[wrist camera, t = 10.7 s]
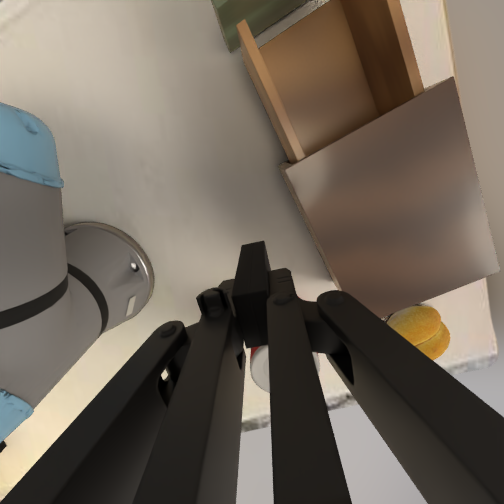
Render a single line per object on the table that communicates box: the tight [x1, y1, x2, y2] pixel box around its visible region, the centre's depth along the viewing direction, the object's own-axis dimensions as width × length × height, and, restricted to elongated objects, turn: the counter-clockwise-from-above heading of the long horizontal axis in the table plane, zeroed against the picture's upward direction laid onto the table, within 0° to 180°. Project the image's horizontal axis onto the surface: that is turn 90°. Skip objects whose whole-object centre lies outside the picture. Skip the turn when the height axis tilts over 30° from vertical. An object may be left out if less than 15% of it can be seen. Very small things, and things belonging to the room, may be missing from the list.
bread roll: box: [387, 306, 450, 360], centre depth 36 cm, size 8×9×4 cm
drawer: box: [211, 0, 424, 164], centre depth 22 cm, size 23×13×8 cm, turn 28°
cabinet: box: [278, 76, 500, 318], centre depth 27 cm, size 18×14×10 cm
